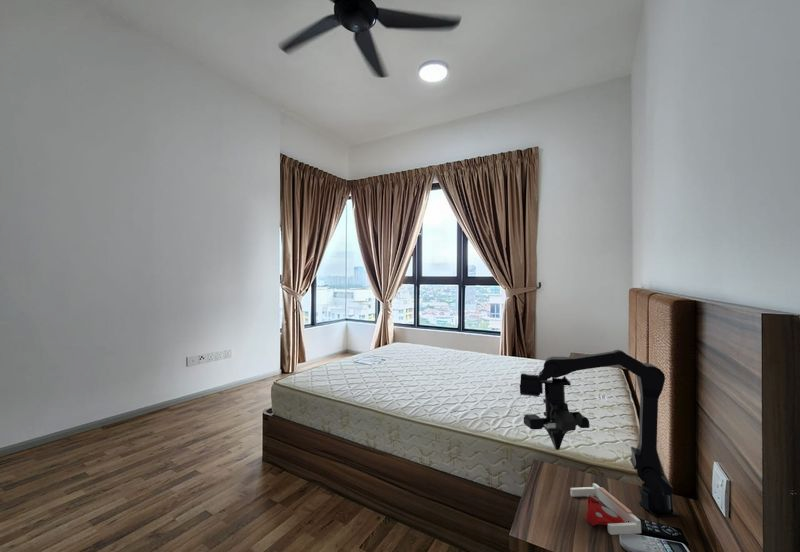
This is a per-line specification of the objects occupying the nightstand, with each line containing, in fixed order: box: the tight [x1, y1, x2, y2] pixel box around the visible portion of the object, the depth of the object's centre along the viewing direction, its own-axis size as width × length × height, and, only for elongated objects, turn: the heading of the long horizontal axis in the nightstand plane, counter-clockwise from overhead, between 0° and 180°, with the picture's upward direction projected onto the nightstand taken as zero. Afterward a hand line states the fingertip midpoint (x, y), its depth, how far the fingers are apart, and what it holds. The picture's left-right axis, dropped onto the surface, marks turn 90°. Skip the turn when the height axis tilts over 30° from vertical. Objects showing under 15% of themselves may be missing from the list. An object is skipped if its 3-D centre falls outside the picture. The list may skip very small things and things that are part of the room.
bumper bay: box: [569, 482, 642, 536], centre depth 95 cm, size 8×18×3 cm, turn 3°
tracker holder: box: [584, 494, 625, 527], centre depth 92 cm, size 12×4×10 cm
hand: (557, 449), depth 107 cm, fingers closed
